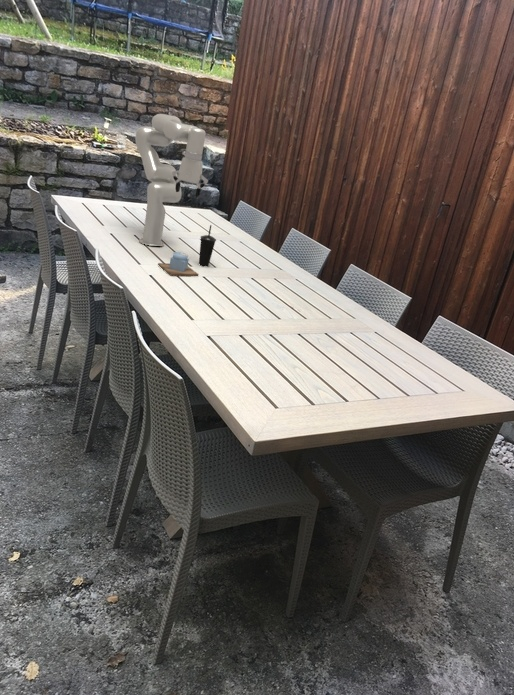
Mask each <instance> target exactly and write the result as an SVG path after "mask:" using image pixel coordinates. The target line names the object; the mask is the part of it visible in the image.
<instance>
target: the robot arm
mask: <svg viewBox="0 0 514 695" xmlns="http://www.w3.org/2000/svg"><path fill="white" fill-rule="evenodd" d="M181 121H182V120H181V119H180V118H179V117H177V116H175V115H170V114H164V113H157V114H155V115H154V116H153V117H152V118H151V125H152V126H141V127H139V128H137V130H136V133H135V137H134V138H135V140H134V141H135V146H136V149H137V151H138V153H139V155H140V158H141V161H142V164H143V169H144V172H145V176H146V179H147V180H148V181H149V182H150V183H149V184H148V185H147V189H146V190H147V191H146V195H147V197H146V199H147V200H146V201H147V202H146V210H145V211H146V212H145V213H146V214H145V217H144V218H145V219H144V226H143V227H144V228H143V232H142V237H140V238H139V240H138V241H140V242H139V243H140V244H141V243H142V245H144V244H145V245H144V246H147V245H149V246H148V247H151V246H162V247H164V246H163V245H165V243H164V241H162V239H163V238H162V237H163V232H164V226H165V219H166V218H165V217H166V209H165V206H164V204H163V203H173V204H175V203H179V202H180V201H181V199H182V195H183V194H182V188H181V184H182V183H181V182H182V181H183V182H186V183H190V184H195V185H196V187H197V188H196V191H195V198H198V197H200V196H201V192H202V188H205V187H206V185H207V184H208V182H209V180H208V179H207V177H205V176H204V175H203V161H202V158H203V152H204V151H203V150H204V146H205V141H206V140H205V139H206V135H207V134H206V131H205V130H204V129H203V128H199V127H197V126H196V125H190V124H186V123H182V122H181ZM173 141H178V142H184V143H185V142H186V148H185V151H182V153H181V154H182V155H183V156H184V157H182V158H181V161H180V166H179V169H178V170H176V168H175V167H174V166H173V165H171V164H165V163H162V162H161V160H160V157H159V156H160V155H159V154H158V153H157V151H156V150H155V148H154V147H152V146H156V147H164V148H165V147H168V146H169V145H171V143H172V142H173ZM202 181H203V182H202ZM201 182H202V184H201Z"/></svg>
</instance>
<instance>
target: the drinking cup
mask: <svg viewBox="0 0 514 695" xmlns="http://www.w3.org/2000/svg"><path fill="white" fill-rule="evenodd" d="M208 230H209V231H208V235H207V234H204V235H201V236H200V246H199V259H198V265H199V264H200V265H199V266H201V265H202V266H201V267H204V266H207V267H209V265H210V263H211V258H212V254H213V251H214V248H215V244H216V242H217V239H216V238H215V237H214V236H212V235H211V230H212V225H211V224H210V226H209V229H208Z"/></svg>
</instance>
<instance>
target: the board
mask: <svg viewBox="0 0 514 695" xmlns="http://www.w3.org/2000/svg"><path fill="white" fill-rule="evenodd" d="M158 265H159V266H160V267H161V268H162V269H163V270H162V269H161V268H160V267H159V266H158ZM169 265H170V263H169V262H168V263H165V262H164V263H161V262H158V263H157V266H158V267H159V268H160V269H161V270H162V271H164V270H165V271H166V272H167V273H168V274H167V273H166V272H165V271H164V272H165V273H166V274H167V275H168V276H170V277H191V276H198V277H199V273H198V272H197V271H195V270H194V269H193V268H191V267H189V266H188V267H187V269H186V270H185V271H183V272H180V271H177V270H173V269H169Z"/></svg>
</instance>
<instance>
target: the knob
mask: <svg viewBox="0 0 514 695" xmlns="http://www.w3.org/2000/svg"><path fill="white" fill-rule="evenodd" d="M188 257H189V255H188V254H186V253H184V252H181V251H175V252H173V253H172V256H171V257H170V260H169V264H170V265H169V269H173V270H177V271H180V272H183V271H185V270H186V269H187V267H189V266H188V265H189V261H190V258H188Z"/></svg>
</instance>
